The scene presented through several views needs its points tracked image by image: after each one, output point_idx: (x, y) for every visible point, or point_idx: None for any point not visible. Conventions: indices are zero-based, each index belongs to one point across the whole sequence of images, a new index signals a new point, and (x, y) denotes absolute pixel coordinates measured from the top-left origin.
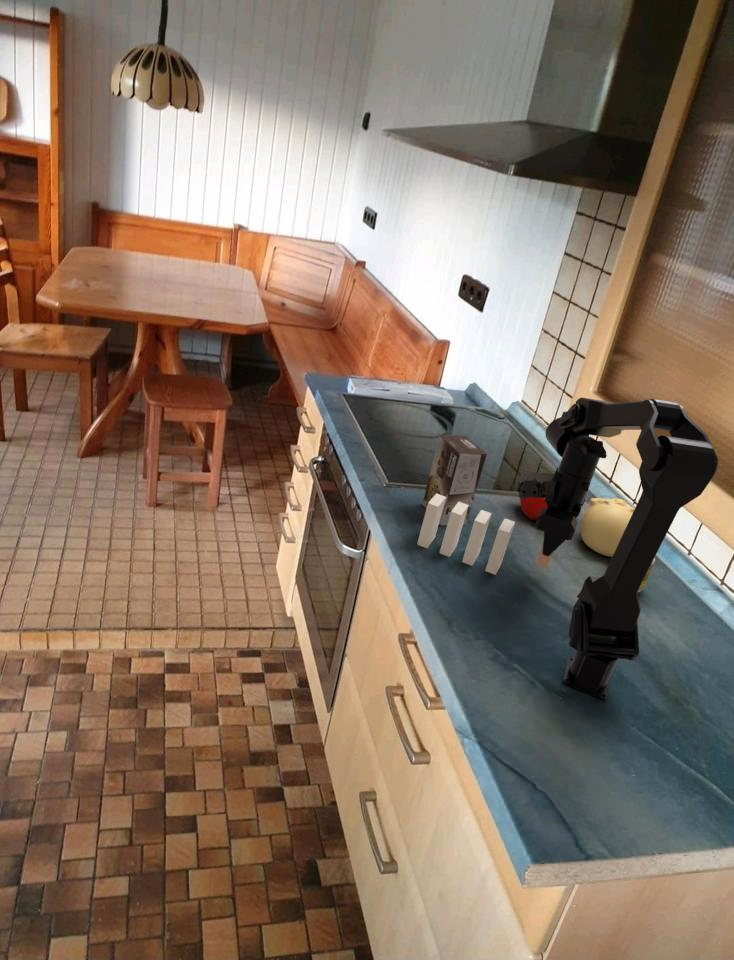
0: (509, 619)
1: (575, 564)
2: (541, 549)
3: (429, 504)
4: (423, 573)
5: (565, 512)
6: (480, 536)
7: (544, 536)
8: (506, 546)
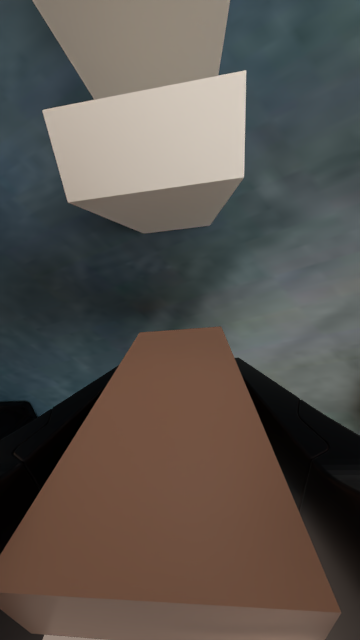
0: (28, 311)
1: (322, 363)
2: (121, 363)
3: None
4: None
5: (357, 637)
6: (76, 64)
7: (23, 428)
8: (189, 216)
